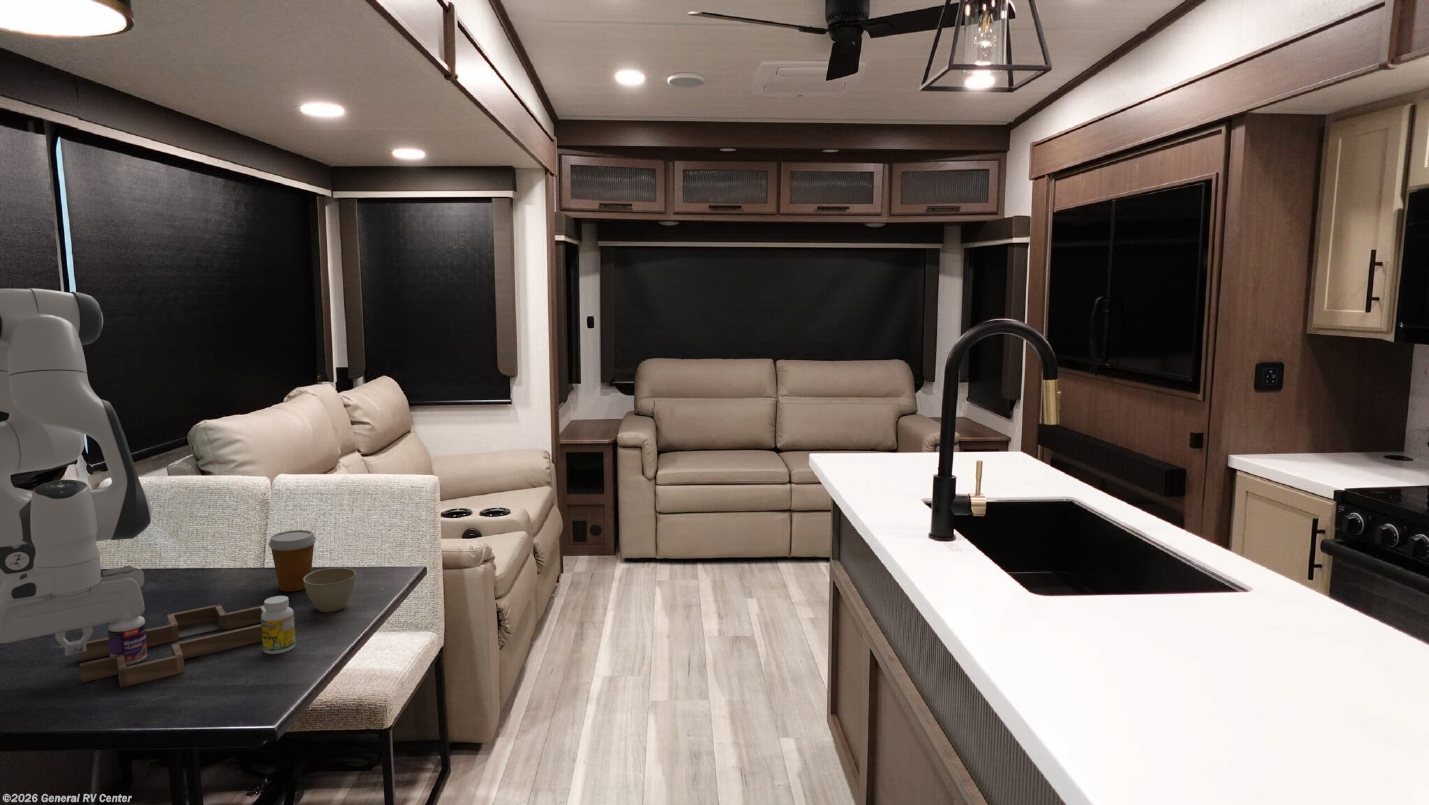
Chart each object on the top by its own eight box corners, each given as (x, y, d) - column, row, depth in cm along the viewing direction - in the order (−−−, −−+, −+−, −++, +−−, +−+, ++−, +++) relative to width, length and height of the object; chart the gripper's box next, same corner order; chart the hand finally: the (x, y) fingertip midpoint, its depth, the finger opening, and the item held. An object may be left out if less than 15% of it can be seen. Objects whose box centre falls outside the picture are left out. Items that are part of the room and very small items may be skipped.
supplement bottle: (302, 645, 152) (299, 596, 150) (279, 656, 146) (276, 606, 145) (279, 640, 153) (276, 592, 152) (255, 652, 148) (253, 602, 147)
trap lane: (77, 648, 148) (76, 632, 148) (259, 610, 167) (259, 596, 167) (82, 696, 131) (81, 679, 130) (285, 648, 150) (285, 632, 150)
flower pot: (293, 612, 167) (292, 579, 166) (332, 596, 176) (331, 565, 175) (329, 620, 163) (328, 586, 162) (367, 603, 172) (366, 571, 171)
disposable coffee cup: (304, 594, 176) (302, 542, 175) (261, 593, 176) (259, 541, 175) (326, 579, 186) (323, 529, 184) (285, 578, 186) (282, 528, 184)
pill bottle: (128, 668, 141) (123, 615, 140) (102, 665, 142) (98, 612, 141) (155, 655, 146) (151, 604, 145) (130, 652, 147) (126, 601, 146)
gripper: (141, 559, 146) (146, 631, 148) (-10, 583, 133) (-1, 662, 135) (144, 568, 141) (150, 642, 143) (-11, 594, 128) (-3, 676, 130)
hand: (75, 652), depth 139 cm, fingers closed
